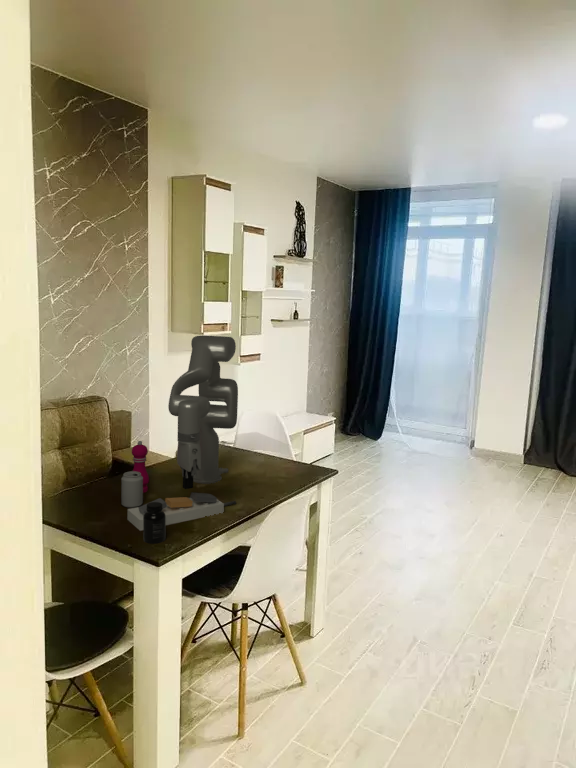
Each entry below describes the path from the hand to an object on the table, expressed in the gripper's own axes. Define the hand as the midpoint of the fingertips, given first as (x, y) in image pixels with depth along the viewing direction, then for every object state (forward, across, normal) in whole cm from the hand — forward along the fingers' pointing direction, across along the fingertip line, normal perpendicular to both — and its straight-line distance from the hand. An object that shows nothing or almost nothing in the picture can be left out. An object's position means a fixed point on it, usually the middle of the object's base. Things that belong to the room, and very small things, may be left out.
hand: (187, 487), depth 207 cm
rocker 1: (+4, -1, +13) cm, 14 cm away
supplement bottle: (+10, -13, +18) cm, 24 cm away
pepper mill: (+11, +32, +5) cm, 34 cm away
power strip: (+10, +1, +4) cm, 11 cm away
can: (+11, +19, +13) cm, 25 cm away
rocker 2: (+4, -1, +4) cm, 6 cm away
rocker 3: (+4, -1, -6) cm, 7 cm away
